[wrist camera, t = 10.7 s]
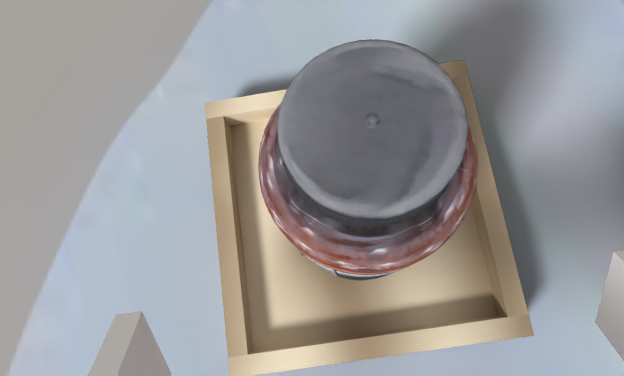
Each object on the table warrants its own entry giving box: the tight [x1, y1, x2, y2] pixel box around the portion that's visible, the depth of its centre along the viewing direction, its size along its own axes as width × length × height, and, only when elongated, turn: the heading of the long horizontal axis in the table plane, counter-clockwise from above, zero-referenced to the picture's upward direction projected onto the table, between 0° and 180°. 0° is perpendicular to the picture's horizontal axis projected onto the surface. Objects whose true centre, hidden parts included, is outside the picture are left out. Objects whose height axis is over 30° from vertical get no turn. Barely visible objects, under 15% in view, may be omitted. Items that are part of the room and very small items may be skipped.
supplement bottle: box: [258, 39, 478, 280], centre depth 15 cm, size 6×6×11 cm
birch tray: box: [205, 60, 534, 376], centre depth 20 cm, size 12×12×2 cm
